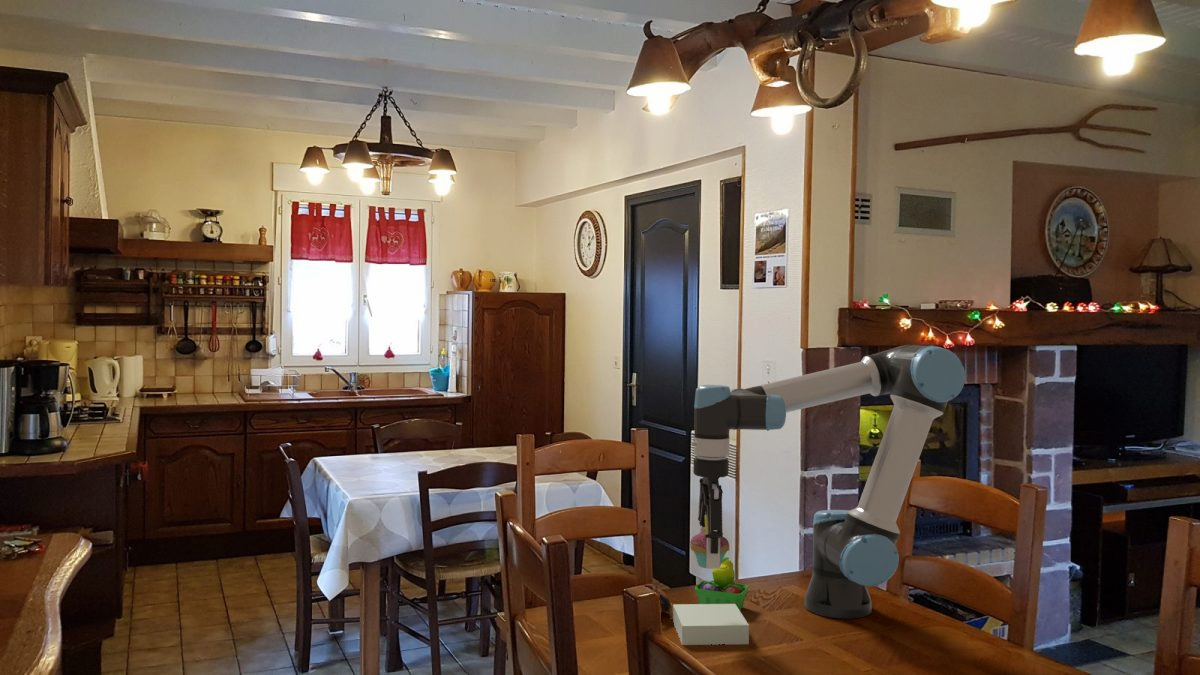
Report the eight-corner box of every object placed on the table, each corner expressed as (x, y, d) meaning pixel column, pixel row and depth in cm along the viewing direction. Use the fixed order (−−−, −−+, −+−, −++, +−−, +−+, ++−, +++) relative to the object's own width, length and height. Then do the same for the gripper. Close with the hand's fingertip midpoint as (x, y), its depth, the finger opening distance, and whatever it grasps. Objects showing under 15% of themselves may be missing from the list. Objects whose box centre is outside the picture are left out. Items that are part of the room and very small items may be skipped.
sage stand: (735, 621, 203) (735, 603, 203) (748, 644, 189) (748, 625, 189) (672, 622, 202) (673, 604, 202) (682, 645, 188) (682, 626, 188)
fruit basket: (693, 609, 211) (693, 561, 211) (703, 599, 219) (704, 552, 219) (741, 616, 207) (741, 567, 207) (750, 605, 215) (750, 557, 215)
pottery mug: (677, 625, 202) (660, 596, 200) (639, 641, 203) (622, 612, 202) (675, 596, 213) (659, 567, 211) (639, 611, 215) (623, 583, 213)
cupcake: (718, 573, 190) (719, 516, 189) (682, 566, 194) (683, 511, 194) (735, 564, 197) (736, 509, 197) (699, 558, 202) (700, 504, 201)
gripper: (686, 449, 205) (684, 549, 206) (702, 465, 184) (700, 576, 185) (719, 449, 206) (717, 549, 206) (738, 465, 185) (736, 576, 185)
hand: (709, 561), depth 195 cm, fingers closed on cupcake, 8 cm apart
